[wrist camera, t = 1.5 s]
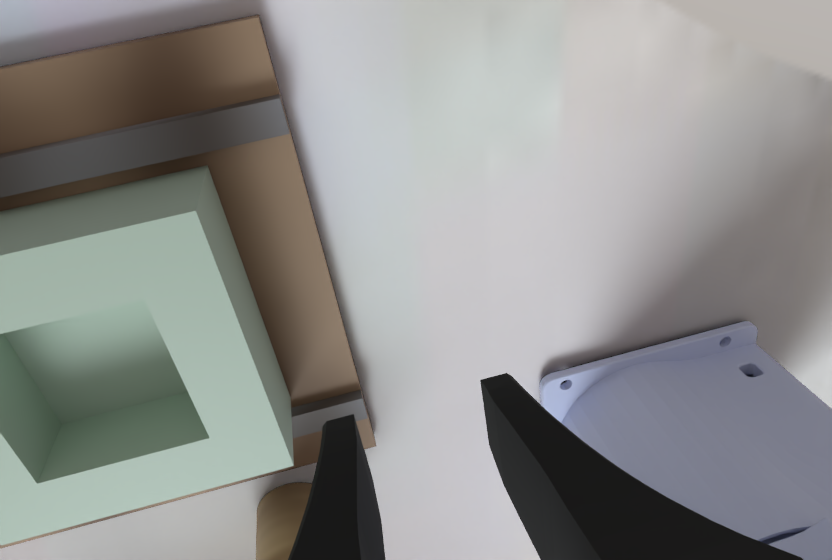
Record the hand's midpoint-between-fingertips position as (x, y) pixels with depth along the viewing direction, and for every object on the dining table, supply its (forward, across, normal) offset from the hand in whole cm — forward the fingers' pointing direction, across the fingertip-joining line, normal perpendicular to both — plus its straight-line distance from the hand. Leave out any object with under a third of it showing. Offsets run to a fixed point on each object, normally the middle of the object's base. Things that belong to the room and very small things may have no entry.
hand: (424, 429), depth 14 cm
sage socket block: (+8, +8, 0) cm, 12 cm away
